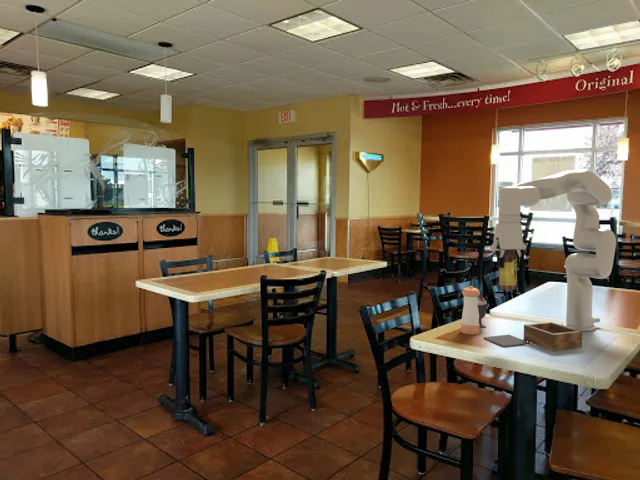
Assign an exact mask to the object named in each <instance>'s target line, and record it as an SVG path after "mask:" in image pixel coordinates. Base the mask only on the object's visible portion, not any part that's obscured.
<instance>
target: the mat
mask: <svg viewBox="0 0 640 480" xmlns="http://www.w3.org/2000/svg"><path fill="white" fill-rule="evenodd" d="M483 339H484V340H485V341H487V342H490V343H493V344H495V345H497V346H499V347H502V348H509V347H510V346H512V347H518V346H517V345H520V346H526V345H525V344H529V345H531V344H532V343H530V342H527V341H525V340H524V339H521V338H519V337H517V336H514V335H511V334H502V335H491V336H483ZM483 339H482V340H483Z"/></svg>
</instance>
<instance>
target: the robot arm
mask: <svg viewBox="0 0 640 480" xmlns="http://www.w3.org/2000/svg"><path fill="white" fill-rule="evenodd" d="M564 194H566V199H567V200H568V201H569V203H570V205H571V206H572V208H573V210H574V212H575V216H576V217H575V218H576V219H575V225H574V230H573V237H572V243H573V247H574V248H575V249H576V250H580V251H588V252H589V251H590V252H595V254H591V253H583V252H575V253H571V254H569V255H568V256H567V257H566V259H565V261H564V267H565V272H566V283H567V284H566V312H565V314H566V317H565V321H564V322H562V323H561V325H563V326H566V327H569V328H572V329H576V330H579V331H582V332H592V331H595V330H596V325H594V324H596V323H600V322H601V319H600V318H599V317H593V296H594V295H593V293H594V287H593V284H592V283H593V282H592V281H591V280H590V278H593V279H600V280H603V279H607V278H609V276H610V275H611V273H612V269H613V266H614V259H615V253H616V248H617V246H616V245H617V239H616V234H615V233H614V231H612V230H611V229H609V228H601V227H600V228H599V224H600V214H599V212H598V210H597V208H596V207H595V206H605V205H607V204H608V203H610V202H611V199H612V194H613V193H612V190H611V188H610V186H609V185H608V183H606V182H605V181H603V179H602V178H600V177H599V176H598V175H597V174H596V173H595V172H593V171H591V170H588V169H575V170H565V171H562V172H558V173H556V174H552V175H548V176H546V177H543V178H537V179H534V180H530V181H526V182H520V183H517V184H515V185H512V186H503V187H500V188H499V190H498V222H497V223H496V225H495V229H494V233H493V234H494V235H493V243H492V244H491V245H490V247H489V248H490V250H491V252H492V253H493V254H494V255H495V257H496V267H497V268H498V269H499V268H504V257H503V254H504V252H505V250H514V251H515V254H516V257H517V268H520V259H521V257H522V254H523V253H524V252H525V250H526V249H527V247H528V246H527V245H526V243H524V240H523V238H524V237H523V227H522V223H521V220H522V219H523V218H522V216H521V207H533V206H535V205H537V204H538V203H539V202H540V201H541V200H549V199H554V198H556V197H559V196H562V195H564Z"/></svg>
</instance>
